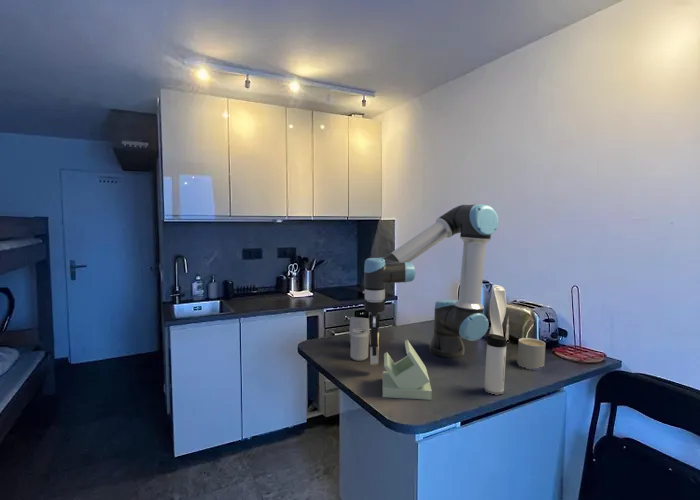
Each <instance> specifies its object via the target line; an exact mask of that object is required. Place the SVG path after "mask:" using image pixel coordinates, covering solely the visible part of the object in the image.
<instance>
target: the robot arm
mask: <svg viewBox="0 0 700 500" xmlns="http://www.w3.org/2000/svg"><path fill="white" fill-rule="evenodd" d="M498 227H499V217H498V213H497V212H496V211H495V209H494V208H493V207H492V206H490V205H488V204H481V203H479V204H461V205H458V206H454V207H453V208H451V209H449V210H448V211H447V212H445V213H444V214H442V215H440V216H439V217H438V218H436V220H435V223H433V224H431V225H430V226H429V227H427V228H426V229H424V230H423V231H421V232H420V233H418V234H417V235H415V236H414V237H411V239H409V240H408V241H407V242H405V243H403V244H401V246H399V247H398V248H396V249H395V250H393V251H392V252H390V253H388V254H387V255H386V256H384V257H383V256H382V257H369V258H366V259H365V260H364V265H363V267H364V269H363V274H364V276H363V277H364V290H363V291H362V294H364V311H365V312H367V313H369V316H368V319H369V329H370V332H371V345H370V344H368V348H370V347H371V364H378V332H379V329H380V321H381V320H380V319H381V314H379V313H382V312H385V307H386V304H385V299H386V284H397V283H399V284H400V283H401V284H402V283H404V284H405V283H410V282H412V281H414V280H415V279H416V267H415V265H414V263H412V261H414V260H415V259H416V258H418V257H419V256H420V255H422V254H424V253H425V252H427V251H428V250H429V249H431V248H432V247H434V246H436V245H437V244H438V243H440V242H441V241H442V240H444V239H445V238H449V239H450V238H451V237H453V236H454V235H457V234H459V235H460V236H459V237H460V239H461V240H462V241H463V247H462V257H461V267H460V268H461V269H460V280H459V291H458V299H441V300H440V299H439V300H437V301H436V302H435V303H434V318H433V319H434V321H433V322H434V323H433V335H432V338H431V340H430V343H429V345H428V347H429V348H428V351H429V352H430V353H431V354H433V355H435V356H438V357H444V358H460V357H462V356H464V355H465V345H464V343H463V339H464V340H467V341H471V342H475V341H478V340H480V339H482V338H483V336H485V335H487V334H486V333H487V332H488V329H489V326H490V325H489V319H488V318H487V317H486V315H484V313H485V312H484V311H485V306H484V305H483V304H482V303H481V301H482V291H483V289H482V288H483V281H484V280H483V279H484V268H485V258H486V250H487V249H486V246H487V243H489V242H490V241H491V239H492V234H494V233H495V232H496V230H497V229H498ZM380 342H381V339H379V343H380ZM371 364H370V365H371ZM378 365H379V364H378Z"/></svg>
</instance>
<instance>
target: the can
mask: <svg viewBox="0 0 700 500" xmlns="http://www.w3.org/2000/svg"><path fill="white" fill-rule="evenodd" d="M352 331H353V332H352V333H351V344H350V355H349V356H350V358H351V359H352V360H353V361H357V362H358V361H359V362H360V361H361V362H362V361H363V362H364V361H366V359H368V358H369V344H370V340H369V334H368V333H367V330H366V329H353V330H352Z"/></svg>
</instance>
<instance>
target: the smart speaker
mask: <svg viewBox="0 0 700 500" xmlns="http://www.w3.org/2000/svg"><path fill="white" fill-rule="evenodd" d="M353 329H366V330H367V333H368V334H369V341H370V332H371V330H370V321H369V317H367V318H366V317H357V316H350V320H349V329H348V330H349V331H348V341H349V344H350V345H351V333H352V332H353V331H352V330H353Z"/></svg>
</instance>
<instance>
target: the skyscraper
mask: <svg viewBox="0 0 700 500" xmlns="http://www.w3.org/2000/svg"><path fill="white" fill-rule="evenodd" d="M491 286H492V290H491V295H490V299H489V300H490V301H489V319H490V320H489V321H490V324H491V325H490V329H489V333H488V334H496V335H500V336H503V337H504V338H506V339H507V340H509V338H510V333H509V331H510V325H509V324H510V323H509V322H510V319H509V317H510V316H507V319H506V325H505V334H504V331H503V323H504V319H505V316H506V313H507V293H506V289H505V288H504V287H503V286H501V285H498V284H492V285H491ZM504 335H505V336H504ZM507 340H506V341H507Z"/></svg>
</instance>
